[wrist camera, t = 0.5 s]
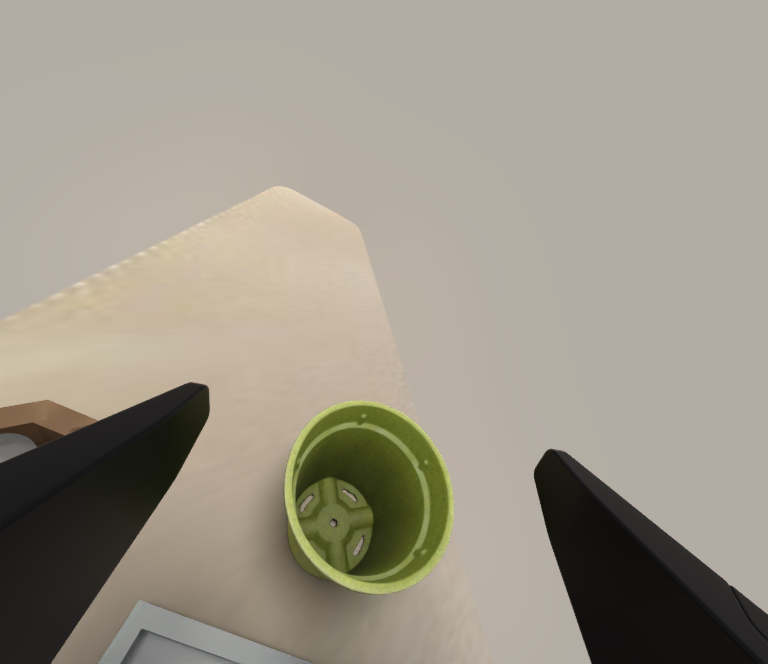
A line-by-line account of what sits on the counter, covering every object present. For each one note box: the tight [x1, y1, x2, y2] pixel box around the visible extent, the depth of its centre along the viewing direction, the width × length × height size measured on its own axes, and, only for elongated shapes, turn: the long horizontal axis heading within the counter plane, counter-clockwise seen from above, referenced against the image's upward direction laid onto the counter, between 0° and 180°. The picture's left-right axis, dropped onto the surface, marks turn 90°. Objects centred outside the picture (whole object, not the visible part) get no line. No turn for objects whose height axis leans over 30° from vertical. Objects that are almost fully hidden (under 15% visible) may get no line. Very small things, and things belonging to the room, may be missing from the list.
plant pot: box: [284, 400, 454, 595], centre depth 19 cm, size 9×9×9 cm
